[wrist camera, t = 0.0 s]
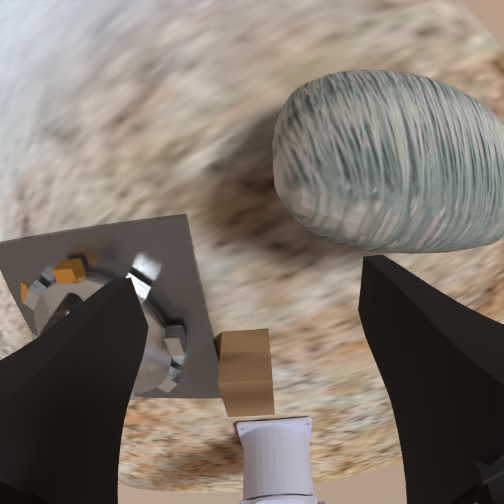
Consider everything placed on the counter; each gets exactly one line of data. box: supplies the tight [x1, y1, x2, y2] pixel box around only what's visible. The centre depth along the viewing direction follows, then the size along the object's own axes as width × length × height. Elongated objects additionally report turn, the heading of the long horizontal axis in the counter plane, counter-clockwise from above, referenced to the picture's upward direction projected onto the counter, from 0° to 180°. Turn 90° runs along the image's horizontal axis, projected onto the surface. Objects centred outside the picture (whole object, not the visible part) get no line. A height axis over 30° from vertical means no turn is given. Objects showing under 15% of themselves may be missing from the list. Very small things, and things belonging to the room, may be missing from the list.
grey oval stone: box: [272, 70, 504, 254], centre depth 14 cm, size 14×10×10 cm
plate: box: [0, 214, 222, 398], centre depth 24 cm, size 18×18×1 cm
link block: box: [218, 329, 275, 417], centre depth 23 cm, size 4×4×5 cm
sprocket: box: [24, 258, 188, 400], centre depth 21 cm, size 14×14×6 cm
